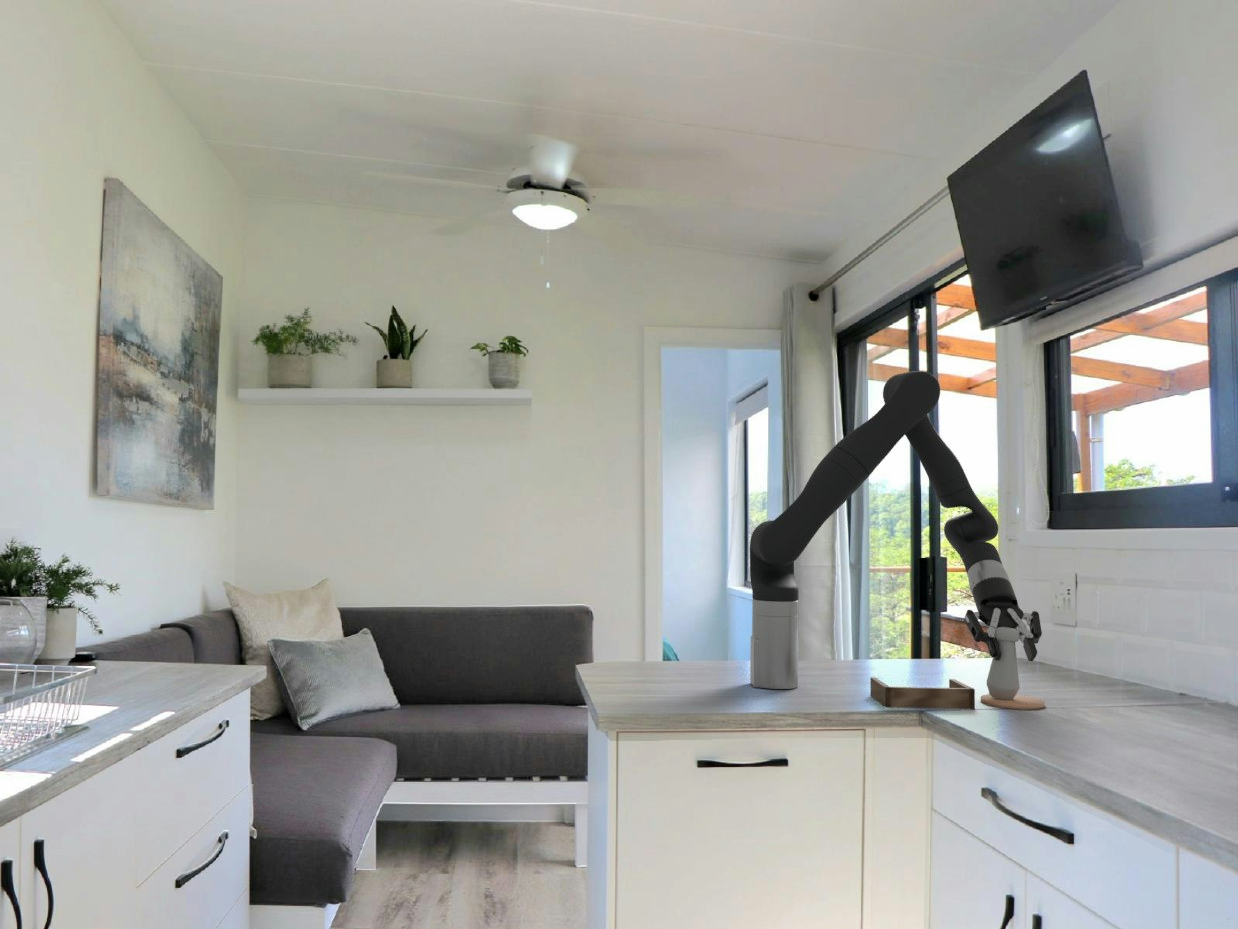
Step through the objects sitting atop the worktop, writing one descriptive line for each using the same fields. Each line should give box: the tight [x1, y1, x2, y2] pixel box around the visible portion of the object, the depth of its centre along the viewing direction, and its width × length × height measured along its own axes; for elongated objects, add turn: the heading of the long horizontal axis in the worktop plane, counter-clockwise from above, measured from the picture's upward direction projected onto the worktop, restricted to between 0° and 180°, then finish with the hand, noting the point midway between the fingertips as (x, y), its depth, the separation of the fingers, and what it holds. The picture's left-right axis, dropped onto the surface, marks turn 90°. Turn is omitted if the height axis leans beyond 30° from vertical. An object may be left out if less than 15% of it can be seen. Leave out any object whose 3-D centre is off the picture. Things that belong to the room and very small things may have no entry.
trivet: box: [980, 693, 1046, 711], centre depth 177 cm, size 11×11×1 cm
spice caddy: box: [869, 677, 976, 710], centre depth 177 cm, size 16×11×4 cm
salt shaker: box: [986, 627, 1020, 700], centre depth 178 cm, size 6×6×13 cm
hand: (1015, 657), depth 176 cm, fingers open, 5 cm apart
